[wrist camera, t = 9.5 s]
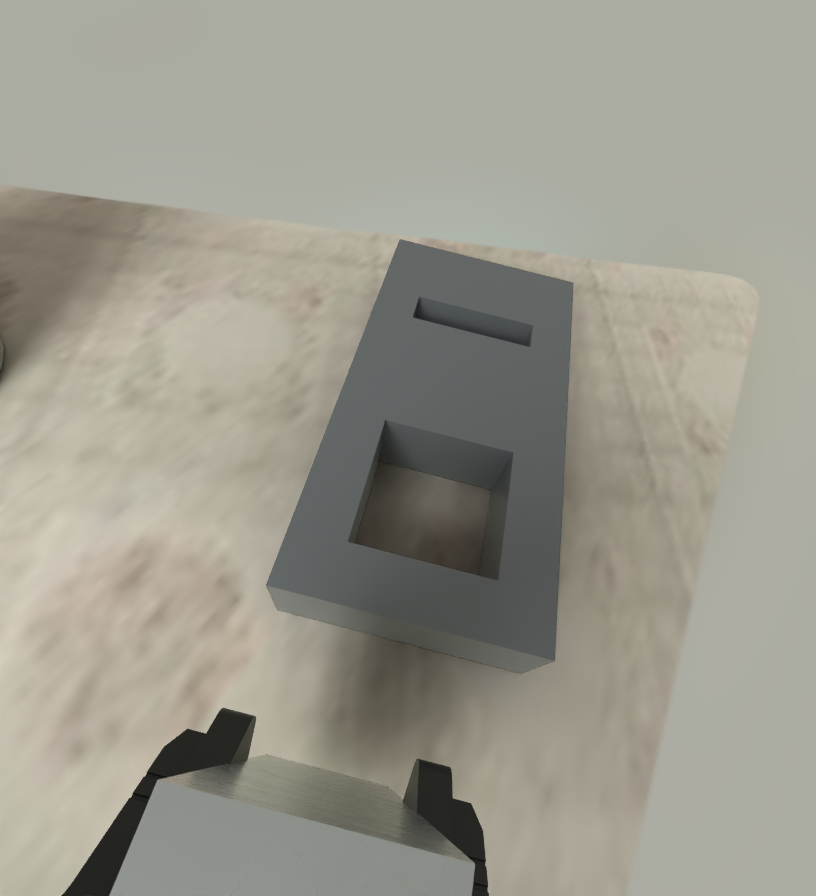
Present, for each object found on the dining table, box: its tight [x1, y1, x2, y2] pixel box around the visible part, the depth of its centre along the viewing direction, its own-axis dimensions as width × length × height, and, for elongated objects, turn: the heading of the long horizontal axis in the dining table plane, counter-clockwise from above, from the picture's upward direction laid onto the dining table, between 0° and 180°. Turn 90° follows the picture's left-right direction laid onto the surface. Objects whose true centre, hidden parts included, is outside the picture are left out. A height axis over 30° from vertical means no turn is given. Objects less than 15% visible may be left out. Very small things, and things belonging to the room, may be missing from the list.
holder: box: [266, 239, 573, 674], centre depth 23 cm, size 20×10×4 cm, turn 167°
